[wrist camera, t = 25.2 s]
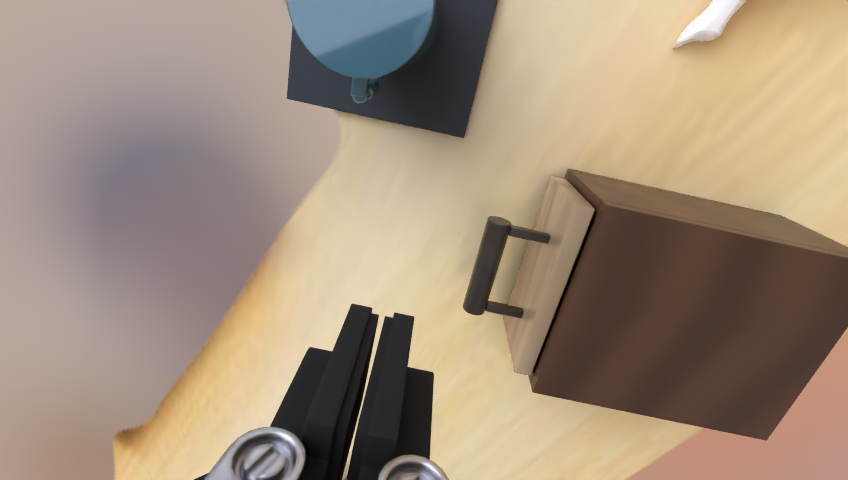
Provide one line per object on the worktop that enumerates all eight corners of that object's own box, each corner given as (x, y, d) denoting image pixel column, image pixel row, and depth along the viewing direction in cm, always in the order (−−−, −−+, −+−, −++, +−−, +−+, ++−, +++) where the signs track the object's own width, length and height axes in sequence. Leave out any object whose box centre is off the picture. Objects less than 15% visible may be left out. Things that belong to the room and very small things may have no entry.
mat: (307, -121, 26) (304, -125, 26) (514, -72, 27) (515, -75, 26) (289, 98, 31) (286, 98, 31) (463, 136, 32) (463, 138, 31)
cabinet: (514, 320, 38) (532, 392, 30) (567, 168, 32) (607, 205, 24) (699, 359, 38) (766, 440, 30) (781, 215, 33) (891, 267, 25)
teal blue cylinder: (351, -48, 27) (291, -111, 17) (450, -25, 27) (450, -74, 17) (335, 82, 30) (277, 94, 20) (424, 102, 30) (412, 124, 20)
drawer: (453, 307, 36) (454, 360, 30) (493, 162, 31) (504, 189, 25) (680, 355, 37) (728, 416, 31) (754, 220, 32) (829, 260, 26)
